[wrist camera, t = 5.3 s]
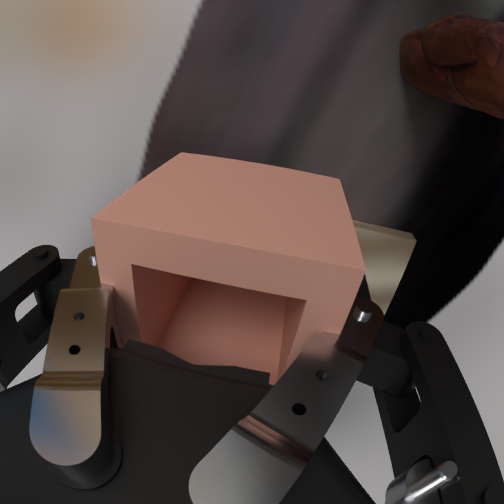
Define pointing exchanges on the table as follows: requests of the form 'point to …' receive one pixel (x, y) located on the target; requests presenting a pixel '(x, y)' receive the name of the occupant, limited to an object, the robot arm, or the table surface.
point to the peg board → (383, 259)
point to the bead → (229, 261)
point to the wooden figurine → (458, 62)
